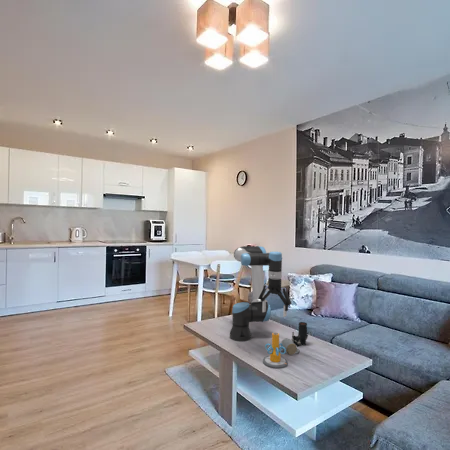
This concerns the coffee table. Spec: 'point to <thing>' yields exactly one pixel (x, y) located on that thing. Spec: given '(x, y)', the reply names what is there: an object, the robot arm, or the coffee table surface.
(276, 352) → the cylinder
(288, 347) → the ceramic mug
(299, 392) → the coffee table surface
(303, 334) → the scope
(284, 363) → the plate
